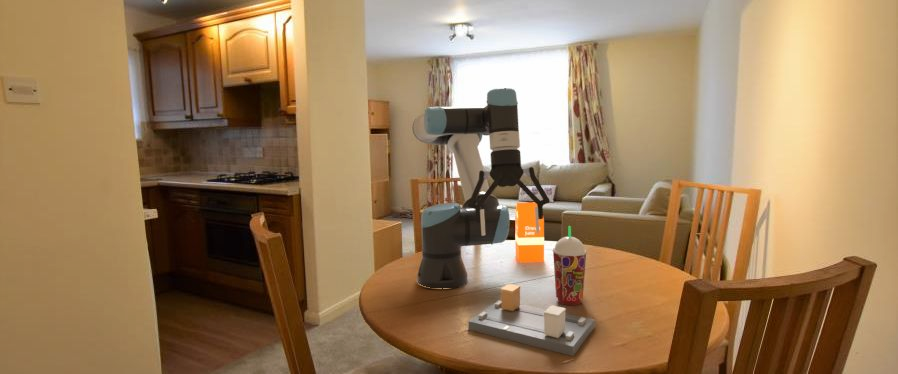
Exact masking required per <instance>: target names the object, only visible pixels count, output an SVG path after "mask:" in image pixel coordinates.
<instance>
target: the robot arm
mask: <svg viewBox="0 0 898 374" xmlns="http://www.w3.org/2000/svg"><path fill="white" fill-rule="evenodd" d="M486 93H487V94H486V105H472V106H471V105H469V106H468V105H465V106H440V105H437V106H428V107H426V108H425V110H424V113H422V114H420V115H418V116H417V117H416V118H415V119H414V121H413V123H412V126H411V127H412V133H413V135H414V137H415V139H417V140H418V141H420V142H422V143H424V144H428V145H431V146H432V145H433V146H447V149H448V150H449V152H450V153H452V154H453V157H454V160H455V161H454V162H455V164H456V168H457V173H458V176H459V177H458V178H459V181H460V186H461V189H462V195H463V197H464V198H463V199H464V202H463V204H462V206H460V204H459V202H458V203H457V202H445V203H439V204H433V205H431V206H429V207H426V208H424V209H423V210H422V212H421V216H420V218H421V219H420V228H421V251H422V252H421V253H422V258H421V260H420V265H419V267H418V271H417V276H416V277H417V281H418V283H419V284H421V285H423V286H426V287H430V288H442V289H443V288H453V289H457V288H456V287H458V288H460V287H459V286H461V287H463V286H464V284H465V285H466V284H467V283H468V272H467V270H466V266H465V262H464V260H463V258H462V247H471V246H482V245H485V246H486V245H495V244H501V243H503V242H505V241H507V240H506V239H507V238H508V236H509V232H510V231H509V230H510V211H509V208H508V206H507V205H505V204H500V203H499V200H498V199H499V198H498V197H496V196H495V195H493V192H494V191H495V190H496V189H497V187H501V188H505V187H516V186H517V185H518V186H519V188H520V189H522V191H523V192H524V193H525V194H526V195H527V196H528V197H529V198H530V199H531V200H532V201H533V203H536V204H537V206H536V207H535V222H536V233H539V219H543V218H544V211H543V210H544V208H543V207H544V205H547V204H549V203H550V199H549V197H548V195H547V194H546V191H545V190H544V189H543V187H542V184H540V181H539V180H538V178H537V177H536V174H535V169H534V167H533V166H530V167H528V168H523V167H522V158H521V156H522V155H521V151H520V147H521V143H520V129H519V112H518V111H519V109H518V105H519V103H518V98H517V97H518V96H517V92H516V90H515V89H514V88H511V87H499V88H493V89H491V90H489V91H488V92H486ZM483 136H489V149H490V150H491V152H490V166H491V167H490V171H489V170H488V171H486V170H485V168H484V165H483V161H482V158H481V156H480V151H479V145H480V142H482V140H483ZM524 174H525V175H526V176H527V177H528V178H529V177H530V179H531V182H532V183H533V185H534V187H535V188H536V190H537V192H538V193H539V195H540V197H541V199H540V198H538V197H537V196H536V195H535V193H533V192H532V191H531V190H530V189H529V187H527V185H526V184H525V183H524V182H523V181H522V180H521V178H522V176H524ZM488 177H490V178H491V179H492V180H493V181H492V183H491V185H489V182H488ZM418 283H417V284H418ZM462 285H463V286H462Z"/></svg>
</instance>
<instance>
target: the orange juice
mask: <svg viewBox="0 0 898 374" xmlns="http://www.w3.org/2000/svg"><path fill="white" fill-rule="evenodd" d="M536 206H537V204H536V203H535V202H516V206H515V207H516V209H515V219H514V220H515V223H514V224H515V228H514V229H515V234H514V235H515V236H514V238H515V258H516V260H517V261H518V263H544V262H545V218H544V217H543V219H539V233H536V222H535V207H536Z"/></svg>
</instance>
